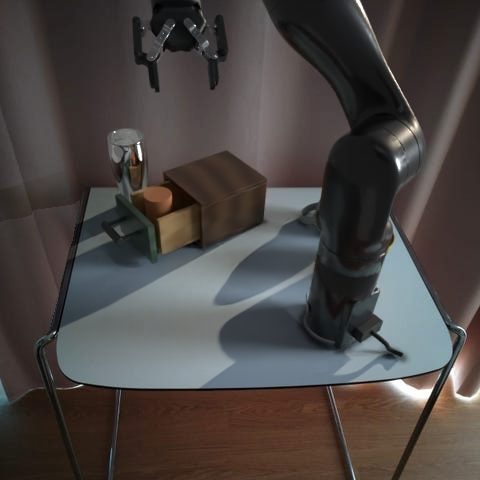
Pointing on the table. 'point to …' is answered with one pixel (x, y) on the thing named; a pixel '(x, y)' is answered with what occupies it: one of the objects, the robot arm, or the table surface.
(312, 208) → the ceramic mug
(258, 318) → the table surface
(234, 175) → the cabinet
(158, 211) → the orange cylinder
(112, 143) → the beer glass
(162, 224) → the drawer
